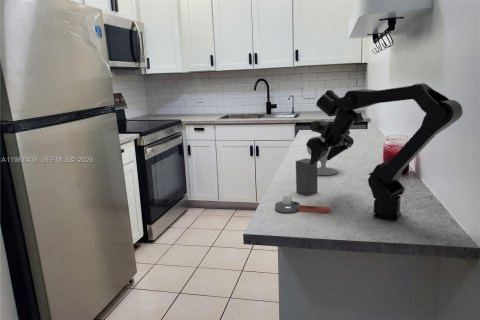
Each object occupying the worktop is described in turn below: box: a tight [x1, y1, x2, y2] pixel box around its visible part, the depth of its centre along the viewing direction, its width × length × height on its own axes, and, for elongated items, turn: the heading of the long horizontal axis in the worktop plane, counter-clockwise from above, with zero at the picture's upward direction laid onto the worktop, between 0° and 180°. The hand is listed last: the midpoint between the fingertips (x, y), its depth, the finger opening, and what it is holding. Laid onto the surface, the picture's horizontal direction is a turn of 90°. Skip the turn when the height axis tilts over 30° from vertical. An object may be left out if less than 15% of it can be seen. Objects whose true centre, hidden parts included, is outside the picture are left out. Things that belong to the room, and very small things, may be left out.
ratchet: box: [274, 195, 331, 215], centre depth 117 cm, size 18×8×4 cm, turn 70°
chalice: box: [306, 135, 339, 176], centre depth 158 cm, size 14×14×15 cm
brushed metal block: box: [295, 157, 318, 197], centre depth 133 cm, size 5×5×12 cm
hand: (319, 162), depth 124 cm, fingers open, 9 cm apart
